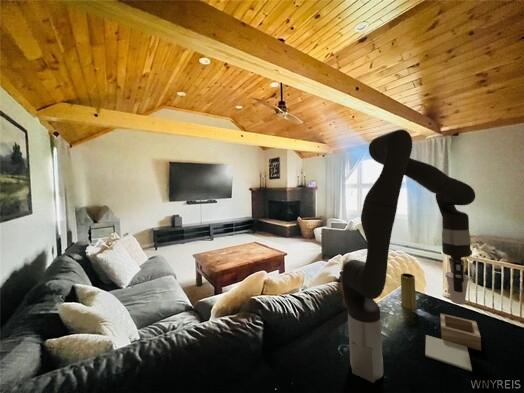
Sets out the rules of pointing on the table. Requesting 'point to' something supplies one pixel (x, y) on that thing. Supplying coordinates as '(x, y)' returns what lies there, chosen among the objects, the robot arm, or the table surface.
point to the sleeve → (460, 331)
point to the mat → (448, 352)
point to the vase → (408, 291)
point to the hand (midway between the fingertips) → (457, 287)
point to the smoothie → (457, 296)
